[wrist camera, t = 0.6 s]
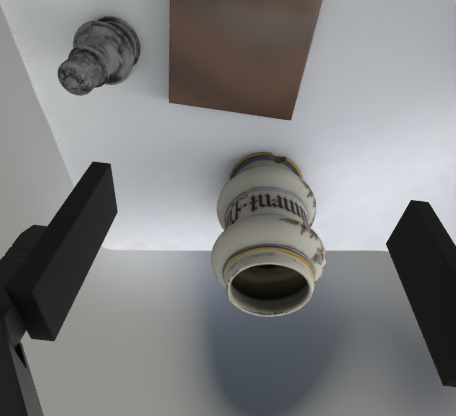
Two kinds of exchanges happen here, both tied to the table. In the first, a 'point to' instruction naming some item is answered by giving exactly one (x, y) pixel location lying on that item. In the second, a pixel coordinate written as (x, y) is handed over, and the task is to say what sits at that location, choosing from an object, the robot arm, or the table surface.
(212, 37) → the walnut board
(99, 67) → the grey tapered rounded piece
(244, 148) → the table surface
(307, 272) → the apothecary jar
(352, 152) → the table surface
